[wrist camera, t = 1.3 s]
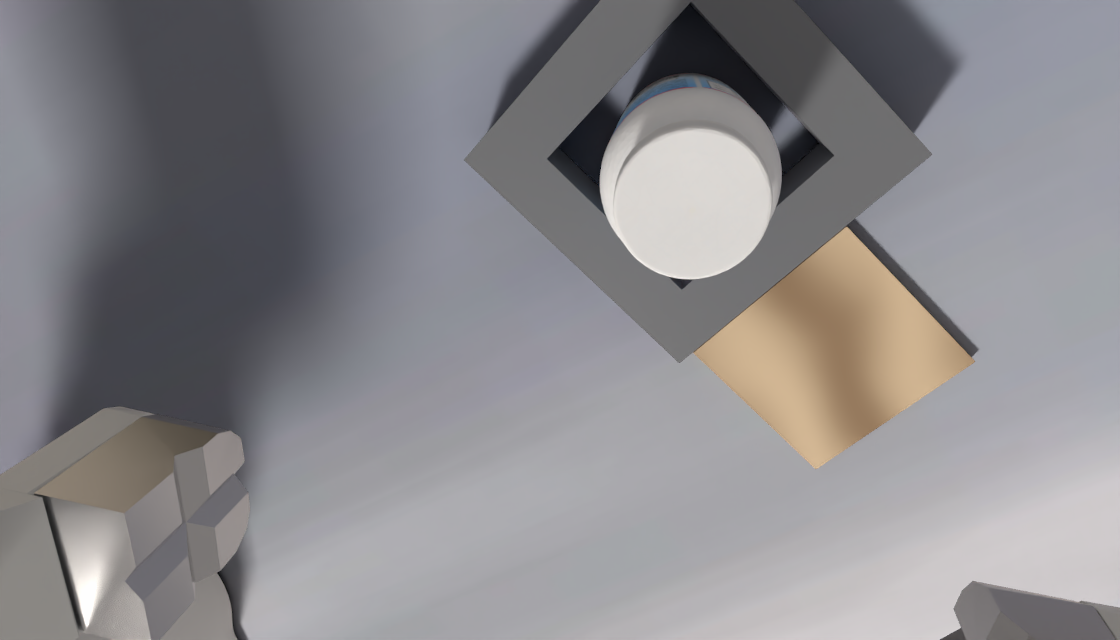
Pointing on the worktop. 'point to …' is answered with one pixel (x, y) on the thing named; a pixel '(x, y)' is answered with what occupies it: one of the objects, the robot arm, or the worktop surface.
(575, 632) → the worktop surface
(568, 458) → the worktop surface
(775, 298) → the cork pad
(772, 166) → the pill bottle
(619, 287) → the grey square bottle holder
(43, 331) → the worktop surface
